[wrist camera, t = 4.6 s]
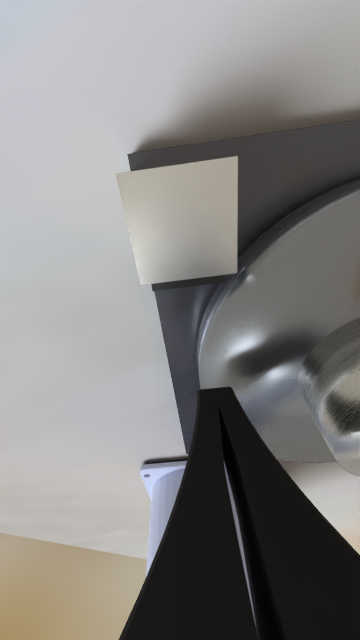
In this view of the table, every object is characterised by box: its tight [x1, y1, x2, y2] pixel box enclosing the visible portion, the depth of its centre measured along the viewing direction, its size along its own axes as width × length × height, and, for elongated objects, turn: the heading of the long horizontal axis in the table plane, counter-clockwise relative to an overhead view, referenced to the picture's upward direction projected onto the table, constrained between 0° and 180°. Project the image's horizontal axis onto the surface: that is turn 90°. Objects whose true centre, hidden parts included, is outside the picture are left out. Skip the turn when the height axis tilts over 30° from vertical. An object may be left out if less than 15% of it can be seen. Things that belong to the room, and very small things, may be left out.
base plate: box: [116, 120, 360, 454], centre depth 12 cm, size 18×18×3 cm
